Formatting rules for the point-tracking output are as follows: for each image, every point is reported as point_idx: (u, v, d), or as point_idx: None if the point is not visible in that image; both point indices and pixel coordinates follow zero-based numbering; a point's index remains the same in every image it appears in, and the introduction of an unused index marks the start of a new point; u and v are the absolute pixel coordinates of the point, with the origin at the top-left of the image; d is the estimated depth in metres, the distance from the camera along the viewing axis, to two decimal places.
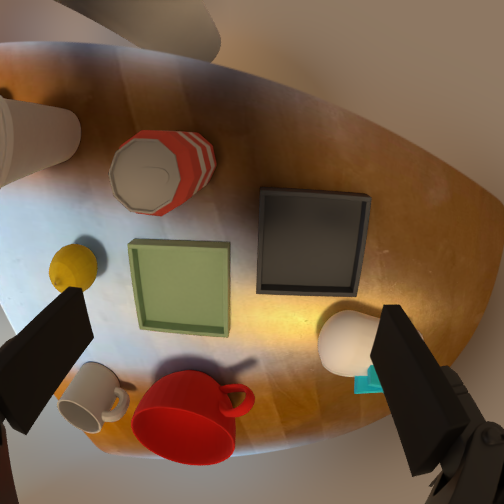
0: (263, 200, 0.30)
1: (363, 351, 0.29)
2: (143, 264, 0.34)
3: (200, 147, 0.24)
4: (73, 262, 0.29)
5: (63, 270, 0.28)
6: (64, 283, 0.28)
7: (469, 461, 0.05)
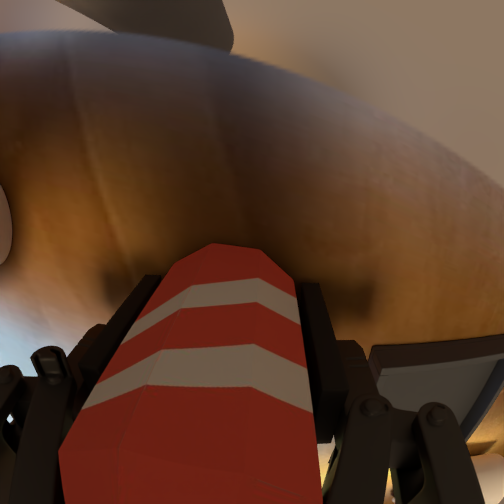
0: (383, 382, 0.14)
1: None
2: None
3: (307, 371, 0.08)
4: None
5: None
6: None
7: (349, 437, 0.06)
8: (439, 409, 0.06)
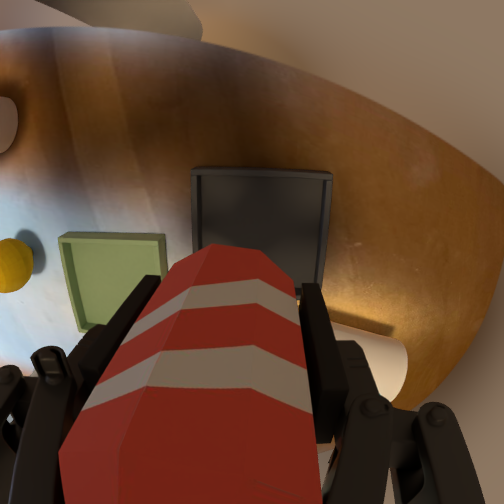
0: (195, 181, 0.24)
1: None
2: (77, 260, 0.28)
3: (306, 372, 0.08)
4: (3, 257, 0.23)
5: None
6: None
7: (349, 437, 0.06)
8: (439, 409, 0.06)
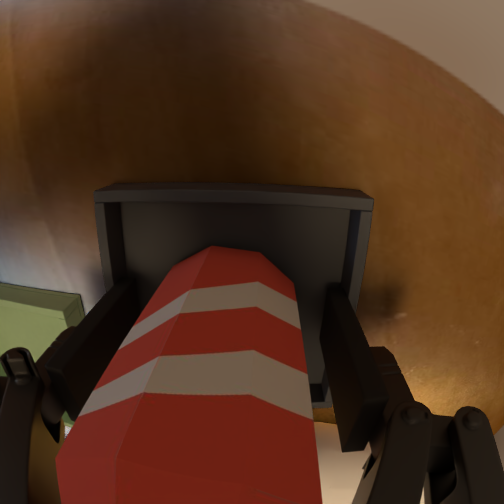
0: (102, 214, 0.12)
1: None
2: None
3: (307, 376, 0.08)
4: None
5: None
6: None
7: (390, 443, 0.06)
8: (474, 413, 0.06)
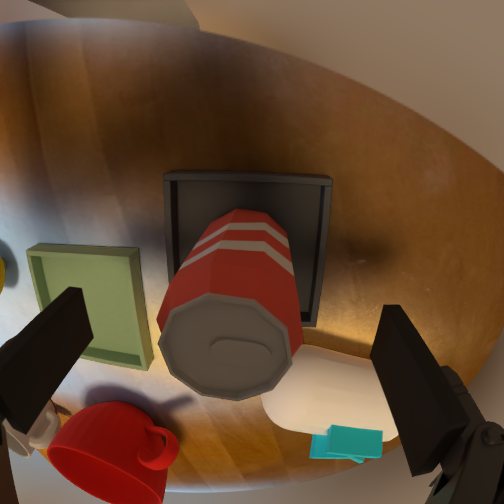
0: (168, 188, 0.20)
1: (320, 408, 0.19)
2: (48, 274, 0.25)
3: None
4: None
5: None
6: None
7: (469, 461, 0.05)
8: None
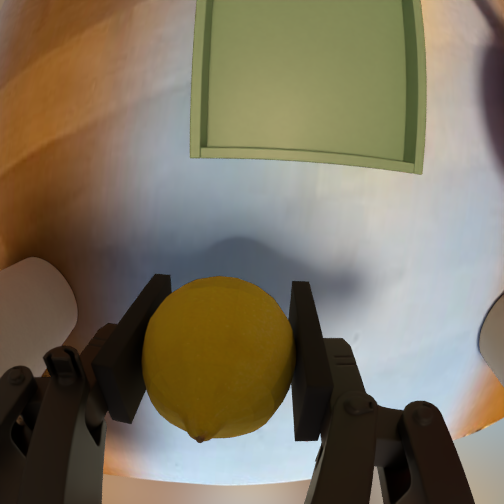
0: None
1: None
2: (256, 135, 0.14)
3: None
4: (153, 347, 0.09)
5: (165, 391, 0.08)
6: (207, 404, 0.08)
7: (333, 435, 0.06)
8: (425, 408, 0.07)
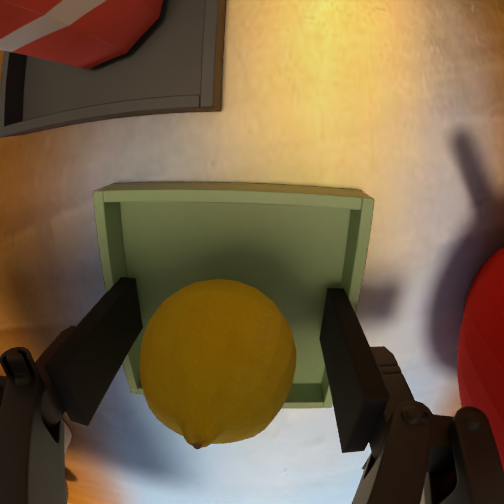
0: (9, 127, 0.10)
1: None
2: None
3: None
4: (151, 352, 0.09)
5: (163, 397, 0.08)
6: (205, 410, 0.07)
7: (390, 443, 0.06)
8: (475, 413, 0.06)
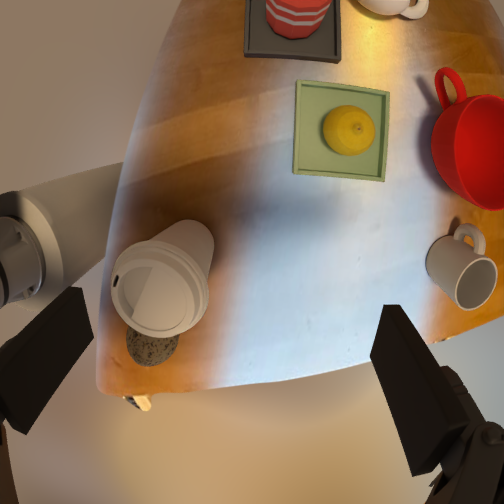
0: (252, 50, 0.29)
1: None
2: (317, 165, 0.35)
3: None
4: (338, 113, 0.28)
5: (345, 120, 0.27)
6: (359, 121, 0.27)
7: (469, 461, 0.05)
8: None
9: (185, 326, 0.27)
